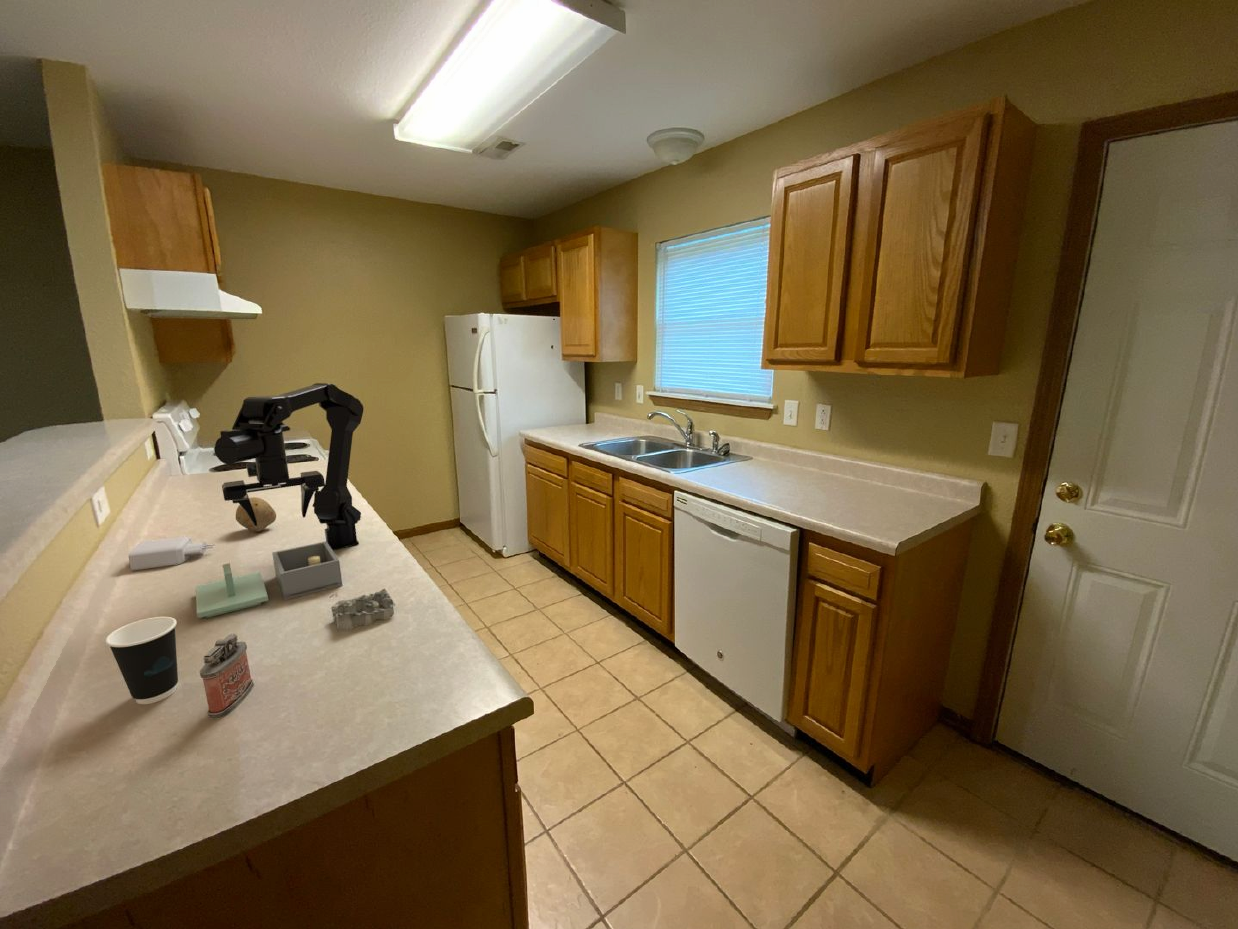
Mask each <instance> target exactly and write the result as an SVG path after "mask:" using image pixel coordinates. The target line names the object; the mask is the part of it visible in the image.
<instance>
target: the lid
mask: <svg viewBox="0 0 1238 929" xmlns="http://www.w3.org/2000/svg"><path fill="white" fill-rule="evenodd" d="M222 568H223V576H224V579H221V580H216V581H212V582H207V583H204V584H198V585H196V586H195V600H196V601H195V602H196V604H195V605H196V616H197V619H200V618H204V617H206V618H212V617H216V616H220V615H224V614H228V613H232V612H237V611H239V610H240V611H241V610H243V609H248V608H251V607H255V606H259V605H260V606H261V605H262V603H263V602H267V601H269V597H268V593H267V589H266V585H265V583H264V579H263V576H262V573H261V571H258V572H257V571H256V572H252V573H249V574H248V573H247V574H244V575H240V576H235V577H233V573H232V568H231V563H224V564H222Z"/></svg>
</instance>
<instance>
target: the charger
mask: <svg viewBox="0 0 1238 929" xmlns="http://www.w3.org/2000/svg"><path fill="white" fill-rule="evenodd" d="M214 546H216V545H215V543H212V544H211V543H210V544H209V543H208V544H207V542H206V541H199V542H192V538H191V537H189V536H179V537H170V538H160V539H154V540H152V539H151V540H145V541H140V542H139V543H138V544H136V545H135V547H133V548H132V549H131V550H130V551H129V552H128V556H127V557H128V561H129V566H130V569H131V571H132V572H133V571H134V570H135V571H141V570H147V569H148V570H149V569H156V568H162V567H170V566H171V567H172V566H177V565H181V564H183V563H185V562H186V561H187V560H188V559H189V557H190V556H193V555H201V554H204V553H205V551H206V550H207V549H213V548H214Z"/></svg>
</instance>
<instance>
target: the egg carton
mask: <svg viewBox="0 0 1238 929" xmlns="http://www.w3.org/2000/svg"><path fill="white" fill-rule="evenodd" d="M380 606H382V607H383V608H380ZM395 606H396V603H394V600H393V598H392V597H391V596H390V594H389V593H388V591H387V590H386V588H383V589H381V590H379V591H376V592H374V593H369V594H368V595H366V594H363V595H361V596H357V597H354V598H352V599H344V600H339V601H337V602H336V603H334V604H333V605H332V606H331V607H330V610H331V613H332V620H333V624H336V628H337V631H338V632H341V631H346V632H350V631H352V630H354V628H355V627H357V626H359V625H361V626H362V625H364V626H368V625H371V624H372V623H373V622H374V621H376V620H379V619H381V620H388V619H390V618H391V617H392V616H393V615H394V614H395V609H394V607H395Z"/></svg>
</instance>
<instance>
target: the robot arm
mask: <svg viewBox="0 0 1238 929" xmlns="http://www.w3.org/2000/svg"><path fill="white" fill-rule="evenodd" d="M242 402H243V403H242V405H241V408H240V410H239V412H238V414H237V416H236V419H235V420H234V423H233V425H232V428H231V430H230V429H225V430H221V431H220V437H219V438H217V440H216V441H215V443H214V447H213V451H214V453H215V456H216V457H217V459H218V460H219V461H220V462H221V463H223V464H226V465H229V466H230V465H234V464H237V463H241V462H245V464H246V471H247V477H248V478H253V477H256V479H257V481H258V482H252V483H245V481H244V479H243V480H241V479H240V480H235V481H227V482H224V483H223V484H222V485H221V489H222V490H221V491H222V495H223V500H224V501H225V502H226V501H231V502H232V504H239V505H241V506H242V507H243V508H244V510H245V511H246V512H247V513H248V515H249V517H250V518H251V520H252V522H253V523H254V525H255V526H257V520H256V517H255V514H254V511H253V508H252V505H251V502H250V499H249V498H250V497H249V495H248V494H249V493H255V492H262V491H269V490H276V489H282V488H289V487H297V486H300V492H301V496H300V497H301V502H300V503H301V508H300V509H301V515H302V518H306V516H307V512H308V509H309V506H310V502H311V500H312V498H314V499H313V504H312V508H313V513H314V515H316V518H317V519H318V522H319V524H320V525H322V524H326V528H325V529H324V536H325V541H327V543H328V544H329V546H330V547H331V549H332V550H333V551H334V550H339V549H342V548H348V547H353V546H357V545H359V544H360V542H359V541H358V538H357V528H356V525H357V524H358V523H359V521H361V518H362V512H361V511H360V510H359V509H357V508H356V507H355V506H353V496H352V494H351V492H350V490H349V488H348V478H349V469H350V461H351V454H352V453H351V452H352V445H353V434H354V432H355V430H356V429H358V426H360V424H361V423H362V419H363V414H364V405H363V403H362V402H361V400H359V399H358V398H357V397H355V396H353V394H350V393H348V392H347V391H344V390H342V389H340V388H339V387H338V386H336V385H335V384H333V383H331V382H330V383H327V382H326V383H325V382H315V383H314V384H312V385H308V386H305V387H301V388H298V389H296V390H292V391H289V392H286V393H285V392H284V393H282V394H278V395H277V394H275V395H257V396H256V395H255V396H248V397H246V398H245V399H243V401H242ZM316 404H318V406H319V407H320V408H321V409H322V410H323V411H325V415H326V417H325V418H326V419H325V420H326V421H327V424H328V425H329V428H330V429H331V430H330V432H331V433H330V441H329V450H328V456H327V457H328V459H327V465H326V466H327V467H326V474H325V477H324V476H323V474H322V473H321V472H319V471H318V470H313V471H311V470H310V471H305V472H302V471H301V472H300V476H296V477H291V478H290V475H289V474H290V473H289V466H288V460H287V453H286V445H285V438H284V433H283V432H290V430H291V427H289V425H286V424H285V423H284V421H287V419H289V418H290V417H291V415H292V414H293V413H294V412H296V411H298V410H302V409H304V408H308V407H310V406H313V405H316ZM254 459H255V460H254ZM250 460H254V461H251V462H247V461H250ZM319 488H321V489H319Z"/></svg>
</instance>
